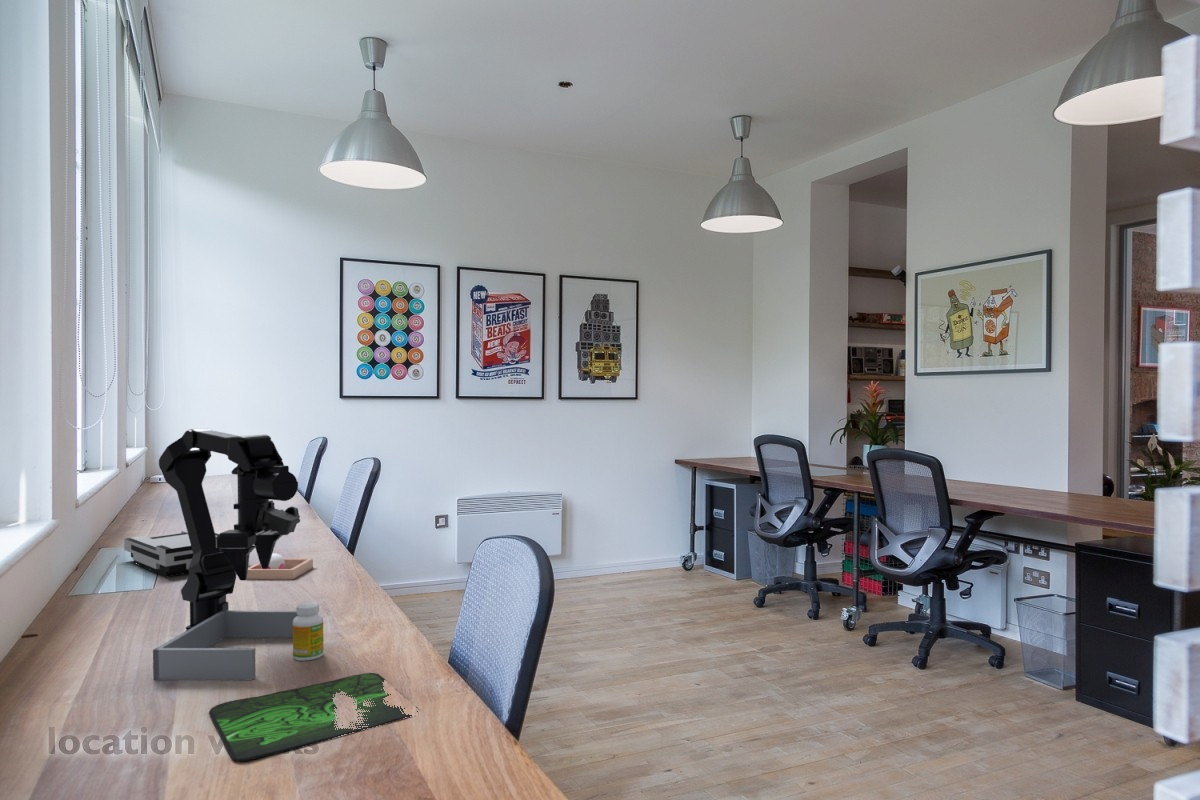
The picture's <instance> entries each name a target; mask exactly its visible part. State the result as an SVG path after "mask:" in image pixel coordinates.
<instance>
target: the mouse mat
mask: <svg viewBox="0 0 1200 800" xmlns="http://www.w3.org/2000/svg"><path fill="white" fill-rule="evenodd" d="M384 680H386V679H385V678H384V677H383V676H382V675H380V674H379V673H375V672H366V673H359V674H353V675H349V676H345V677H342V678H339V679H334V680H331V681H330V680H329V681H324V682H320V683H319V682H318V683H315V684H310V685H306V686H302V687H297V688H292V689H287V690H282V691H281V690H280V691H277V692H273V693H269V694H265V695H260V696H259V695H258V696H252V697H245V698H240V699H236V700H229V701H225V702H223V703H219V704H217V705H214V706H212V708H210V709H209V711H208V715H209V717H210V719H211V721H212V723H213V725H214V726H215V728H216V731H217V733H218V734H219V736H220V738H221V740H222V742H223V743H224V746H225V747H226V748H225V749H226V750H227V752H228V754H229V756H230V758H231V759H232V760H233V761H235V762H245V761H253V760H256V759H261V758H264V757H269V756H273V755H277V754H281V753H280V752H282V753H284V751H285V752H288V751H287V750H289V751H292V749H293V750H296V749H300V748H304V747H307V746H306V745H308V746H311V745H310V744H312V745H314V743H315V744H318V742H319V743H321V741H323V742H326V741H329V740H328V739H330V740H333V739H332V738H334V737H338V736H341V735H344V734H348V735H350V734H349V733H352V732H356V733H358V732H357V731H359V732H362V731H361V730H363V729H367V728H371V729H373V728H372V727H374V728H377V727H376V726H378V727H380V726H379V725H381V726H383V724H384V725H386V724H385V723H388V724H390V723H393V722H392V721H394V722H395V721H396V720H397V721H401V720H404V719H403V718H405V717H409V718H411V717H410V716H412V715H409V714H408V715H406V714H405V713H404V711H403V709H402V708H401V706H400V709H401V711H402V712H403V713H404V714H402V712H401V711H400V709H399V707H398V706H397V708H396V707H395V705H394V708H393V706H392V707H390V705H389V706H387V704H386V705H385V704H384V703H383V700H384V699H383V698H385V697H387V696H389V694H388V693H387V695H386V693H385V691H384V689H383V687H384V686H383V683H382V682H384ZM339 689H340V690H339ZM381 689H382V690H381ZM341 691H343V692H345V693H347V694H346V696H347V695H348V697H351V698H352V697H353V699H354V697H355V699H356V700H357V709H355V710H356V711H357V710H359V709H360V710H361V709H362V710H363V709H364V710H365V711H366V710H367V711H368V710H369V711H370V712H369V711H368V712H367V711H366V712H363V713H362V712H361V713H362V715H363V714H364V715H365V716H364V715H363V716H361V717H363V718H364V720H365V721H364V720H363V719H362V720H363V722H364V723H361V724H362V725H361V724H360V723H359V724H360V725H356V724H358V723H355V726H356V728H357V726H358V728H361V729H358V728H357V729H354V730H353V728H352V729H351V728H350V729H348V728H347V729H346V728H345V729H344V728H343V729H341V728H340V729H339V728H338V730H337V728H336V726H335V725H337V724H334V723H335V721H336V720H335V719H336V717H335V714H333V713H334V712H335V710H334V709H335V708H336V709H337V707H336V705H335V704H334V702H333V699H332V698H334V697H335V694H336V692H337V693H340V692H341ZM333 694H334V697H333ZM340 695H341V694H340ZM342 695H343V694H342ZM344 695H345V694H344ZM349 695H350V696H349ZM351 695H352V696H351ZM390 695H391V694H390ZM355 699H354V701H355ZM368 699H369V701H370V702H371V701H372V702H371V705H372V707H371V705H370V703H369V705H370V707H369V706H368V707H367V706H363V702H364V700H365V701H366V700H367V701H368ZM370 699H371V700H370ZM367 701H366V702H367ZM369 701H368V702H369ZM373 701H374V702H373ZM359 702H360V703H359ZM384 702H385V700H384ZM387 702H388V701H387ZM353 703H354V702H353ZM355 703H356V701H355ZM364 703H365V702H364ZM372 703H373V704H372ZM374 703H375V704H374ZM385 703H386V702H385ZM367 704H368V703H367ZM354 705H355V704H354ZM365 705H366V704H365ZM373 705H374V706H373ZM375 705H376V706H375ZM334 707H335V708H334ZM360 707H361V708H360ZM358 708H359V709H358ZM404 709H405V708H404ZM362 710H361V711H362ZM364 710H363V711H364ZM332 712H333V713H332ZM335 713H336V712H335ZM358 713H360V712H358ZM358 713H357V714H358ZM361 713H360V714H361ZM358 715H359V714H358ZM366 715H367V716H366ZM336 716H337V715H336ZM358 717H360V716H358ZM358 717H357V718H358ZM365 718H366V719H365ZM367 718H368V719H367ZM337 719H338V718H337ZM400 719H401V720H400ZM405 719H406V718H405ZM332 720H333V721H332ZM334 720H335V721H334ZM358 720H359V719H358ZM360 720H361V719H360ZM366 720H367V721H366ZM397 721H396V722H397ZM356 722H357V721H356ZM358 722H359V721H358ZM361 722H362V721H361ZM389 722H390V723H389ZM336 723H337V721H336ZM350 723H351V722H350ZM352 723H353V722H352ZM363 724H365V725H363ZM366 724H367V725H366ZM368 724H369V725H368ZM350 725H351V724H350ZM353 725H354V724H353ZM334 726H335V727H334ZM342 726H343V725H342ZM359 726H361V727H359ZM362 726H368V727H363V728H362ZM337 727H338V726H337ZM349 727H350V726H349ZM351 727H352V726H351ZM353 727H354V726H353ZM335 728H336V730H335ZM367 730H368V729H367ZM363 731H364V730H363ZM352 734H353V733H352ZM341 737H342V736H341ZM338 738H339V737H338ZM334 739H335V738H334ZM325 740H326V741H325ZM303 746H304V747H303ZM276 753H277V754H276Z"/></svg>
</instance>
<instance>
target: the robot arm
mask: <svg viewBox="0 0 1200 800" xmlns="http://www.w3.org/2000/svg"><path fill="white" fill-rule="evenodd" d="M211 452H213V453H217V454H222V455H225V456H227V459H228V460H229V461H231V462H232V463H234V464H236V465H237V466H235V467H234V468H233V469H232V470H231V474H232V475H237V478H236V479H237V502H236V503H234V504H233V510H237V523H235V524H233V529H228V530H225V531H222V532H220V533H218V534H219V535H218V536H217V537H216V535H215V533H216V532H215V528H214V525H213V520H212V517H211V514H210V510H209V506H208V502H207V499H206V495H205V492H204V488H203V481H204V479H205V475H206V474H207V467H206V466H207V465H206V464H207V463H208V462H209V460H210V458H211V457H212V453H211ZM158 466H159V467H158V468H159V469H160V471H161V473H162V476H163V478H164V481H165V482H166V483H167V484H168V485H169V486H170V487H171V488H173V489H174V490H175V491H176V494H177V497H178V501H179V505H180V507H181V513H182V516H183V520H184V524H185V527H186V528H185V529H186V530H187V532H188V536H189V539H190V543H191V547H192V551H193V557H192V560H191V563H190V566H189V569H188V570H189V573H188V575H189V577H188V579H187V581H186V582H185V583H184V585H183V586H182V588H181V589H180V592H181V593H180V594H181V597H182V598H181V599H182V600H183V601H186V602H189V625H187V626H185V631H187V630H189V629H191V628H192V627H194V626H196V625H198V624H199V623H201V622H203V621H205V620H206V619H208V618H210V617H212V616H214V615H215V614H217V613H219V612H221V611H229V602H228V601H227V595H232V594H233V593H234V589H235V584H236V580H237V578H238V579H239V581H246V580H248V579H247V573H248V568H249V563H250V554H251V553H252V552H253V550H256V553H257V554H256V555H257V557H258V561H259V562H260V564H261V567H262V569H268V567H269V563H270V560H271V556H272V553H274V549H275V547H276V544H277V541H278V540H280V538H281V537H283V536H288V535H290V534H291V533H295V530H296V527H297V524H300V522H301V519H300V518H301V515H299V514H300V513H299V508H298V507H295V506H292V505H291V506H289V507H287V508H286V509H285V510H284V509H277V508H275V502H274V501H280V502H281V501H282V502H286V501H289V500H291V499H292V498H294V496H295V495H296V494H297V492H298V489H299V488H298V487H299V482H298V481H297V480H298V479H297V478H296V476H295V474H293V473H292V472H290V471H289V470H290V467H289V465H285V464H284V462H283V458H282V457H281V455H280V453H279V451H278V449H277V447H276V445H275V443H274V441H273V440H272V437H271V436H270V435H269V434H255V435H254V434H253V435H236V434H232V433H228V432H227V433H226V432H223V431H216V430H213V429H209V428H207V427H206V428H191V429H190V428H189V430H186V431H185V432H183V434H182V436H181V437H180V438H178V439H176V440H175V441H174V442H171V443H170V444H169V445H168V446H166V448H165V450H163V453H162V454H161V455H160V457H159V460H158Z"/></svg>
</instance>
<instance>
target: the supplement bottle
mask: <svg viewBox="0 0 1200 800" xmlns="http://www.w3.org/2000/svg"><path fill="white" fill-rule="evenodd" d="M295 611H296V612H297V614H298V616H297V617H295V618H294V620H293V638H292V658H293V659H294V660H296V661H301V662H303V661H304V662H306V661H313V660H317V659H319V658H321V657H322V656H323V655H324V617H323V615H322V614H320V604H319V602H315V601H314V602H313V601H312V602H311V601H310V602H302V603H299V604H297V605H296V610H295Z"/></svg>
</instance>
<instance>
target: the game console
mask: <svg viewBox="0 0 1200 800" xmlns="http://www.w3.org/2000/svg"><path fill="white" fill-rule="evenodd" d="M219 534H220V533H216V532H215V535H216V537H217V536H218V535H219ZM123 547H124V548H123V549H124V551H126V552H129V553H130V558H132V559H133V564H134V563H137V564H139V565H141V566H143V567H142V568H144V567H145V568H144V569H146V568H147V570H148V569H150V570H149V571H151V570H152V571H151V572H153V571H154V572H153V573H155V572H156V574H158V575H160V576H163V577H165V578H170V577H174V576H180V575H181V576H182V575H186V574H189V570H188V569H189V566H190V563H191V560H192V557H193V551H192V547H191V543H190V539H189V536H188V532H187V529H184V530H181V531H180V533H172V534H166V535H158V536H152V537H148V536H145V535H141V536H136V537H135V536H134V537H126V538H124V539H123ZM137 564H136V565H137ZM139 565H138V566H139ZM141 566H140V567H141Z"/></svg>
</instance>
